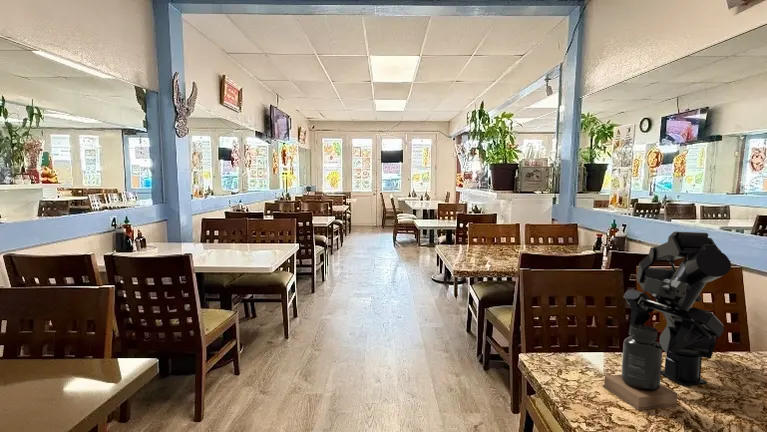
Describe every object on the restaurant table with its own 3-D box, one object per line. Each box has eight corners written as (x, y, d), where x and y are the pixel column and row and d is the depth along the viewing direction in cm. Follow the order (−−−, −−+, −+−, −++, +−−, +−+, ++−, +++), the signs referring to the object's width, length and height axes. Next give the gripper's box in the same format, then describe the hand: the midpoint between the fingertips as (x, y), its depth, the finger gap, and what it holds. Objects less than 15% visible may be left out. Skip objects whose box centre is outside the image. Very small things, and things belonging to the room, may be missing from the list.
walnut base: (639, 383, 89) (640, 372, 88) (678, 405, 79) (679, 393, 79) (602, 386, 87) (603, 375, 87) (638, 410, 78) (638, 397, 77)
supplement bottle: (668, 391, 80) (672, 333, 79) (637, 393, 79) (641, 334, 78) (642, 375, 87) (645, 321, 86) (613, 377, 86) (616, 322, 85)
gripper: (628, 255, 94) (592, 309, 92) (714, 273, 76) (672, 340, 75) (653, 281, 97) (619, 334, 96) (741, 304, 80) (702, 369, 78)
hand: (649, 343), depth 86 cm, fingers open, 9 cm apart
